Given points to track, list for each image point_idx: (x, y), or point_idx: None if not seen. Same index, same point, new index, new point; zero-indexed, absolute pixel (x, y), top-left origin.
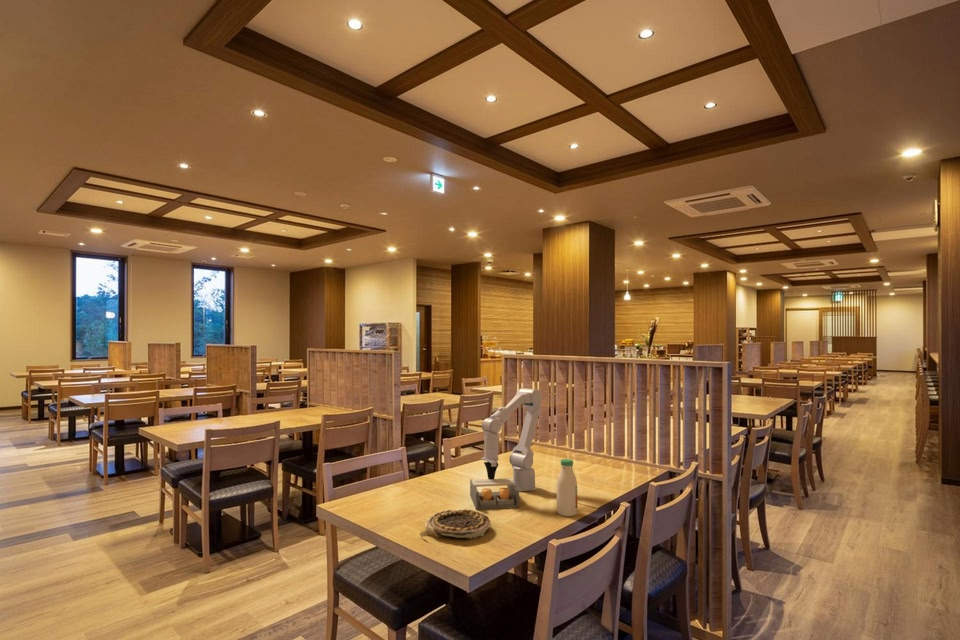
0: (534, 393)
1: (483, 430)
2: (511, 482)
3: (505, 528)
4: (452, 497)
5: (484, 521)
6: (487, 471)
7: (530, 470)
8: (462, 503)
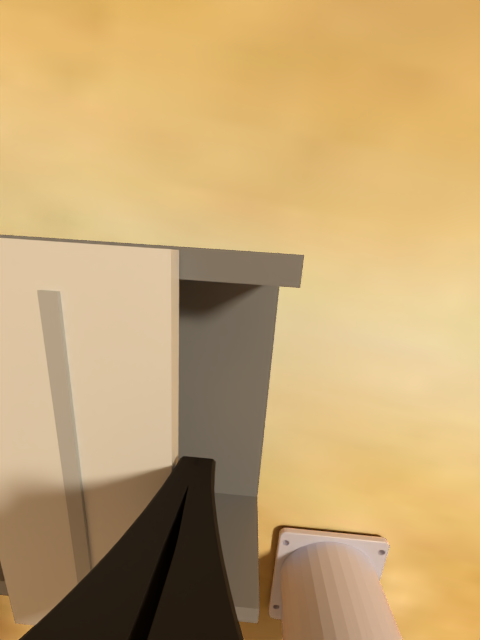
0: None
1: None
2: (36, 608)
3: None
4: (262, 93)
5: None
6: (110, 563)
7: None
8: (104, 159)
